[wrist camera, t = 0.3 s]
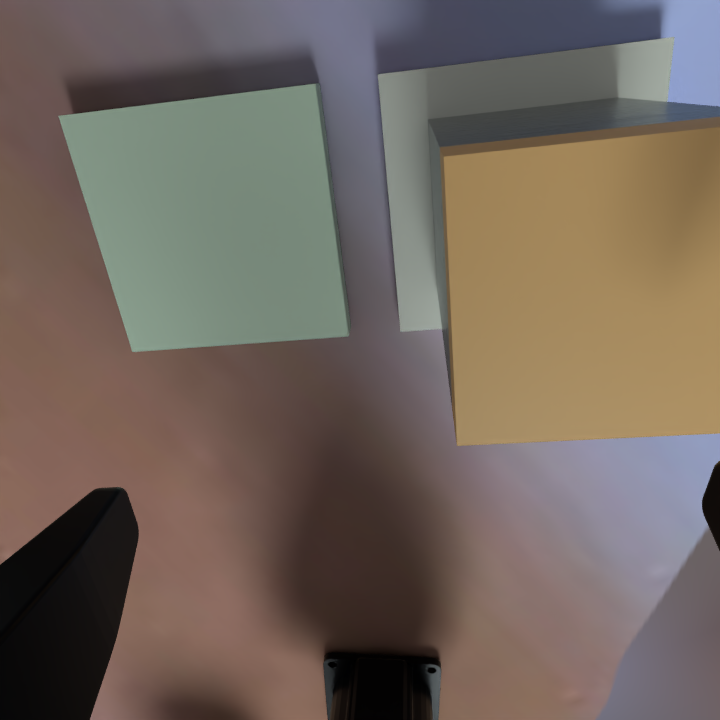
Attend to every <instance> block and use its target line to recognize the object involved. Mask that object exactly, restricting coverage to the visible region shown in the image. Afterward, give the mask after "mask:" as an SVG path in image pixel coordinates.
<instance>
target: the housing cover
mask: <svg viewBox="0 0 720 720" xmlns="http://www.w3.org/2000/svg"><path fill="white" fill-rule="evenodd" d="M440 165H441V185H442V206H443V226H444V247H445V267H446V288H447V308H448V329H449V350H450V370H451V391H452V410H453V418H454V426H455V434H456V442H457V446H464V445H485V444H506V443H527V442H548V441H569V440H590V439H611V438H632V437H653V436H674V435H695V434H716V433H720V117H712V118H703V119H693V120H684V121H675V122H666V123H657V124H648V125H639V126H630V127H620V128H611V129H602V130H593V131H584V132H575V133H566V134H556V135H547V136H538V137H529V138H520V139H511V140H502V141H493V142H483V143H474V144H465V145H456V146H447V147H440Z"/></svg>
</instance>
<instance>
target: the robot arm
mask: <svg viewBox="0 0 720 720" xmlns="http://www.w3.org/2000/svg"><path fill="white" fill-rule="evenodd" d="M702 509H703V513H704V516H705V519H706V521H707V523H708V526H709V528H710V530H711V532H712V534H713V537H714V539H715V542H716V544H717V546H718V548H719V551H720V461H719V462H718V463H717V464H716V465H715V466H714V469H713V471H712V474H711V477H710V480H709V482H708V485H707V488H706V491H705V493H704V496H703V500H702ZM138 536H139V530H138V524H137V521H136V518H135V515H134V512H133V509H132V506H131V503H130V500H129V497H128V494H127V492H126V491H125V490H124V489H123V488H120V487H111V488H98V489H95V490H93V491H92V492H90V493H89V494H88V495H86V496H85V497H84V498H83V499H81V500H80V501H79V502H78V503H76V504H75V505H74V506H73V507H71V508H70V509H69V510H68V511H67V512H65V513H64V514H63V515H62V516H60V517H59V518H58V519H57V520H55V521H54V522H53V523H52V524H50V525H49V526H48V527H47V528H45V529H44V530H43V531H42V532H40V533H39V534H38V535H37V536H35V537H34V538H33V539H32V540H30V541H29V542H28V543H27V544H26V545H24V546H23V547H22V548H21V549H19V550H18V551H17V552H16V553H14V554H13V555H12V556H11V557H9V558H8V559H7V560H6V561H4V562H3V563H2V564H1V565H0V720H90V717H91V714H92V711H93V708H94V705H95V702H96V699H97V696H98V693H99V690H100V687H101V684H102V681H103V678H104V675H105V672H106V669H107V666H108V663H109V660H110V657H111V654H112V651H113V647H114V644H115V641H116V638H117V634H118V630H119V626H120V621H121V617H122V612H123V608H124V603H125V598H126V594H127V589H128V585H129V580H130V575H131V571H132V566H133V562H134V557H135V552H136V548H137V543H138ZM323 665H324V677H325V690H326V702H327V715H328V720H438V715H439V698H440V680H441V663H440V661H439V660H437V659H436V658H427V657H409V656H390V655H372V654H353V653H335V652H332V653H327V654H326V655H325V658H324V664H323Z"/></svg>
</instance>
